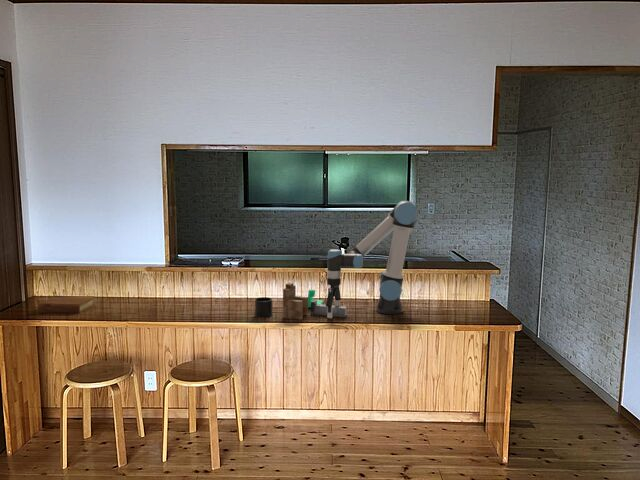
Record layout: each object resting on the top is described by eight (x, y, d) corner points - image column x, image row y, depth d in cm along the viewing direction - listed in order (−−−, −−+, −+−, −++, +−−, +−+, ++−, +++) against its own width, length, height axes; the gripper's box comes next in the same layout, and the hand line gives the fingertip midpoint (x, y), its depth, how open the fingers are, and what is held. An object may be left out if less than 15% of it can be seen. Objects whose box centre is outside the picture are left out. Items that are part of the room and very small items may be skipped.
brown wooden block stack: (308, 314, 284) (308, 282, 281) (301, 319, 273) (301, 287, 271) (290, 312, 287) (290, 281, 285) (283, 317, 277) (283, 285, 274)
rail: (346, 315, 283) (346, 303, 282) (344, 317, 279) (344, 304, 278) (312, 311, 289) (312, 300, 288) (310, 313, 285) (310, 301, 284)
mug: (275, 312, 288) (275, 296, 287) (269, 318, 276) (269, 301, 275) (259, 311, 290) (259, 295, 288) (253, 317, 278) (252, 301, 277)
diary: (39, 314, 283) (38, 304, 282) (56, 305, 302) (56, 295, 301) (79, 314, 283) (78, 304, 282) (94, 305, 301) (94, 295, 300)
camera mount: (320, 309, 294) (320, 292, 293) (307, 309, 295) (307, 291, 294) (323, 304, 306) (323, 287, 305) (310, 303, 307) (310, 287, 306)
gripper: (333, 272, 293) (333, 308, 296) (320, 281, 269) (320, 320, 272) (346, 273, 290) (345, 309, 293) (334, 282, 267) (333, 321, 270)
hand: (333, 314), depth 283 cm, fingers open, 13 cm apart
